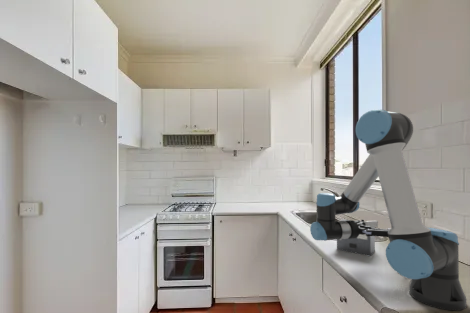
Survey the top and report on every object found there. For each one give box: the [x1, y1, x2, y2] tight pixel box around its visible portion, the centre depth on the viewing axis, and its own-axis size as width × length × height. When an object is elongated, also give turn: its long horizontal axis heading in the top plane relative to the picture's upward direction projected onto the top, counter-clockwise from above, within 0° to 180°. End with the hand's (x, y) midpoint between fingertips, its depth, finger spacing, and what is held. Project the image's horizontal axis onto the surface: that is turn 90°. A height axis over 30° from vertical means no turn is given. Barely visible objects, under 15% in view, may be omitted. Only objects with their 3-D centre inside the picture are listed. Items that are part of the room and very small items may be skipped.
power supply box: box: [336, 218, 376, 257], centre depth 137 cm, size 11×16×14 cm, turn 52°
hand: (388, 227), depth 118 cm, fingers open, 13 cm apart
